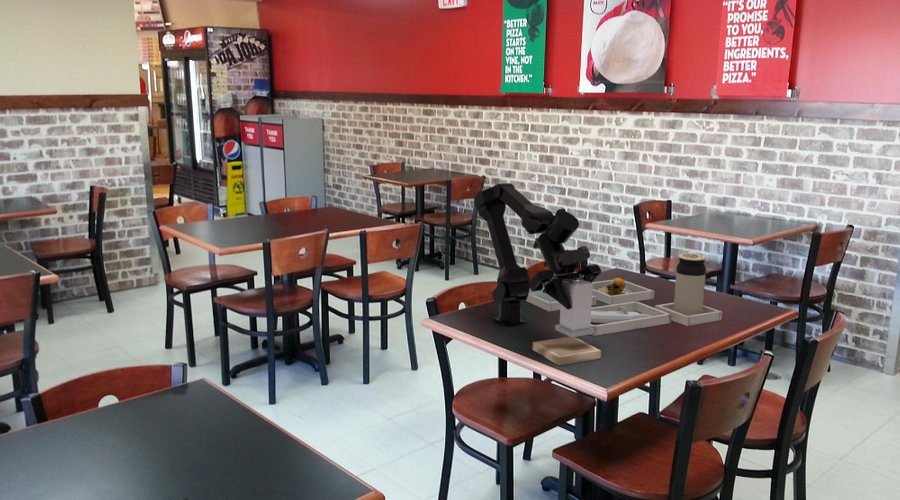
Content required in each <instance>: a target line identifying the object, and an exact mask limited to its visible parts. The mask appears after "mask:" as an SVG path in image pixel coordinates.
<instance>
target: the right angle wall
mask: <svg viewBox="0 0 900 500" xmlns="http://www.w3.org/2000/svg"><path fill="white" fill-rule="evenodd" d="M543 290H544V285H543V289H542V290H541V291H535V292H532V291H531V295H535V296H537V297H540V298H542V299H544V300H546V301H549V302H555V301H556V300H555V299H554V298H552V297H551V296H549V295H548V294H546V293H543V292H542V291H543Z"/></svg>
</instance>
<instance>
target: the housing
mask: <svg viewBox="0 0 900 500" xmlns="http://www.w3.org/2000/svg"><path fill="white" fill-rule="evenodd" d="M562 286H563V289H564V291H565V293H566V296H567V298H568V300H569V303H570V306H571V308H570V309H569V310H568V309H566V308H565V307H564V306H563V305H561V307H560V310H559V324H555V326H554V327H555V328H554V329H555V331H557V332H559V333H561V334H563V335H565V336H566V337H576V338H577V337H581V336H587V335H590V334H593V333H594V331H595V329H594V328H592V327H590V324H592V323H591V308H592V306H593V305H592V288H593V283H591V282H589V281H586V280H583V279H581V278H572V279H571V280H564V281H562Z"/></svg>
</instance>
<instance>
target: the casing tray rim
mask: <svg viewBox="0 0 900 500" xmlns="http://www.w3.org/2000/svg"><path fill="white" fill-rule="evenodd" d="M620 306H623V307H625V308H626V310H627V312H638V313H639V314H648V315H652V316H651V317H645V318H638V319H632V320H626V321H619V322H613V323H607V324H606V323H600V324H595V325H594V324H593V323H590V327H592V328H594V329H595V331H594V333H593V334H589V335H590V336H591V337H595V336H602V335H608V334H614V333H619V332H626V331H633V330H638V329H644V328H651V327H656V326H661V325H667V324H671V323H672V320H671V318H672V314H669V313H666V312H664V311H661V310H658V309H656V308H655V307H653V306H650V305H647V304H645V303H642V302H640V301H633V302H627V303H620V304H613V305H609V304H607V305H602V306H593V307H591V310H592V311H617V309H618V308H619V307H620ZM619 311H624V309H623V308H620V310H619Z"/></svg>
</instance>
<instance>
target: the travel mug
mask: <svg viewBox="0 0 900 500" xmlns="http://www.w3.org/2000/svg"><path fill="white" fill-rule="evenodd" d="M677 257H678V258H679V261H678V263H677V264H676V272H675V273H676V274H675V286H674V300H673V303H674V311H675V312H678V313H681V314H683V315H686V316H691V315H697V314H702V313H703V305H704V299H705V285H706V274H707V273H706V272H707V268H706V265H705V261H706V259H707V256H705V255H703V254H699V253H698V254H697V253H680V254H678V256H677Z"/></svg>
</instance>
